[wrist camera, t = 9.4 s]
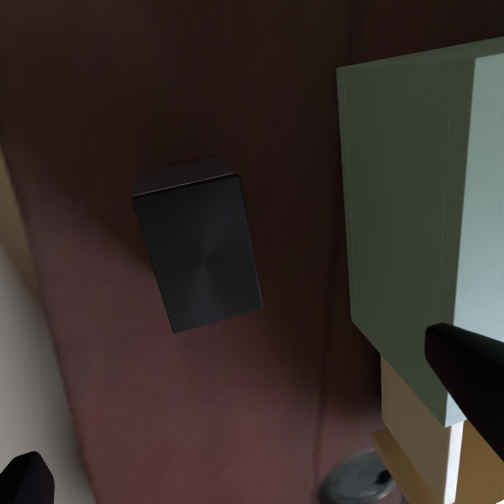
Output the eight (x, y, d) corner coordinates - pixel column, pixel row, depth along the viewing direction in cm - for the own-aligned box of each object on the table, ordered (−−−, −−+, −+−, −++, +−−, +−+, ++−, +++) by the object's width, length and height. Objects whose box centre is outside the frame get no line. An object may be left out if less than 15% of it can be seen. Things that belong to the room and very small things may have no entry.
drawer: (516, 431, 33) (600, 510, 27) (372, 486, 31) (428, 585, 25) (555, 233, 25) (689, 282, 19) (365, 288, 23) (445, 364, 17)
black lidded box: (219, 155, 18) (239, 175, 14) (240, 265, 21) (263, 308, 17) (134, 173, 18) (131, 200, 14) (167, 284, 20) (173, 334, 16)
